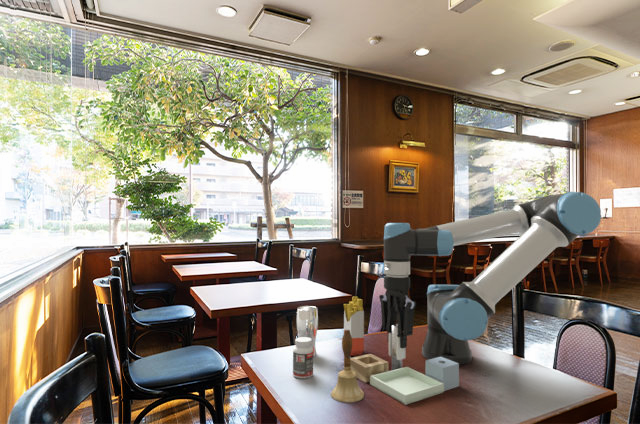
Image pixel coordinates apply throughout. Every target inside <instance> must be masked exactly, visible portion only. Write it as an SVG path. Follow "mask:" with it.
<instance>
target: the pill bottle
mask: <svg viewBox="0 0 640 424" xmlns="http://www.w3.org/2000/svg"><path fill="white" fill-rule="evenodd" d="M294 344H295V346H294V348H293V350H292V353H293V354H292V375H293V376H294V377H295V378H297V379H309V378H311V377H312V376H313V375H314V357H313V348H312V347H311V344H312V339H311V338H309V337H299V338H298V337H297V338H295V340H294Z"/></svg>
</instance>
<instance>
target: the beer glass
mask: <svg viewBox="0 0 640 424" xmlns="http://www.w3.org/2000/svg"><path fill="white" fill-rule="evenodd" d="M296 311H297V312H296V330H297V331H296V332H297V336H298V337H297V338H299V337H309V338H311V339H312V344H311V347H312V348H313V358H314V357H316V356H317V348H316V340H317V339H316V338H317V333H318V327H319V316H318V314H319V313H318V312H319V311H318V307H316V306H313V305H302V306H298V307H297V310H296Z"/></svg>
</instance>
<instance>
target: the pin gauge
mask: <svg viewBox="0 0 640 424" xmlns="http://www.w3.org/2000/svg"><path fill="white" fill-rule="evenodd" d="M397 335H399V332H398V323H396V324H393V325H392V356H391V371H392V370H395V369H399V368H403V359H400V360H398V359H397Z"/></svg>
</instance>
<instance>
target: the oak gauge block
mask: <svg viewBox="0 0 640 424" xmlns="http://www.w3.org/2000/svg"><path fill="white" fill-rule="evenodd" d="M350 364H351V366H350V367H351V370H352V371H354V372H355V373H356V377H357V379H359V380H360V381H362V382H364V384H365V383H370V376H372V375H376V374H380V373H384V372H388V371H390V370H389V361H386V360H384V359H382V358H381V357H378V356H377V355H375V354H372V353H368V354H362V355H357V356H353V357H350Z"/></svg>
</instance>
